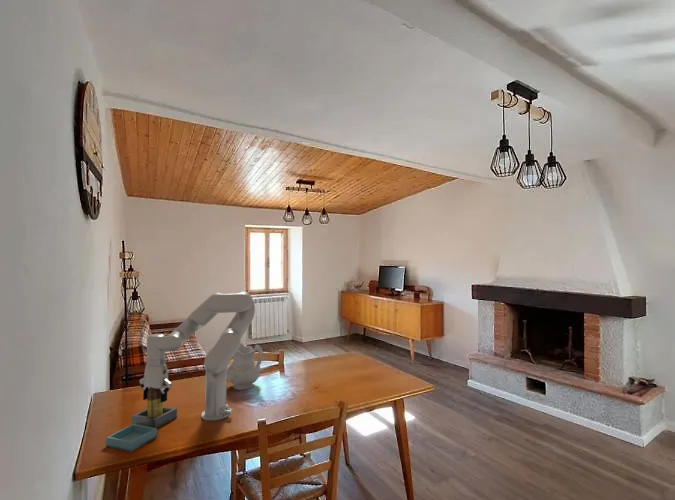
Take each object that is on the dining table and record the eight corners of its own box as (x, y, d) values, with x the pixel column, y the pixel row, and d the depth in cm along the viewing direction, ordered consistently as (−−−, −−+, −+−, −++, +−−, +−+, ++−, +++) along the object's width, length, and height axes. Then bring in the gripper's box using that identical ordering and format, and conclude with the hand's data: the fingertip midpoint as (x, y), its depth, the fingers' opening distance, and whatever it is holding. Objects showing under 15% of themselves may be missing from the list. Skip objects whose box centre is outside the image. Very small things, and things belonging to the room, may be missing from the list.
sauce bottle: (165, 418, 172) (165, 374, 173) (159, 424, 166) (159, 378, 166) (150, 418, 172) (151, 374, 172) (143, 424, 166) (144, 378, 166)
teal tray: (156, 436, 154) (157, 428, 154) (131, 451, 142) (131, 442, 142) (132, 432, 158) (132, 423, 158) (106, 446, 146) (106, 437, 146)
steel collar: (176, 417, 173) (177, 408, 173) (155, 429, 161) (155, 419, 161) (154, 413, 177) (154, 404, 177) (131, 425, 165) (131, 415, 165)
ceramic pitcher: (268, 384, 223) (269, 341, 226) (258, 393, 204) (259, 346, 206) (233, 382, 225) (234, 340, 228) (219, 391, 206) (221, 345, 208)
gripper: (177, 361, 170) (176, 399, 170) (147, 358, 176) (146, 395, 175) (165, 366, 163) (164, 405, 163) (134, 362, 169) (133, 400, 168)
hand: (155, 400), depth 169 cm, fingers open, 9 cm apart
